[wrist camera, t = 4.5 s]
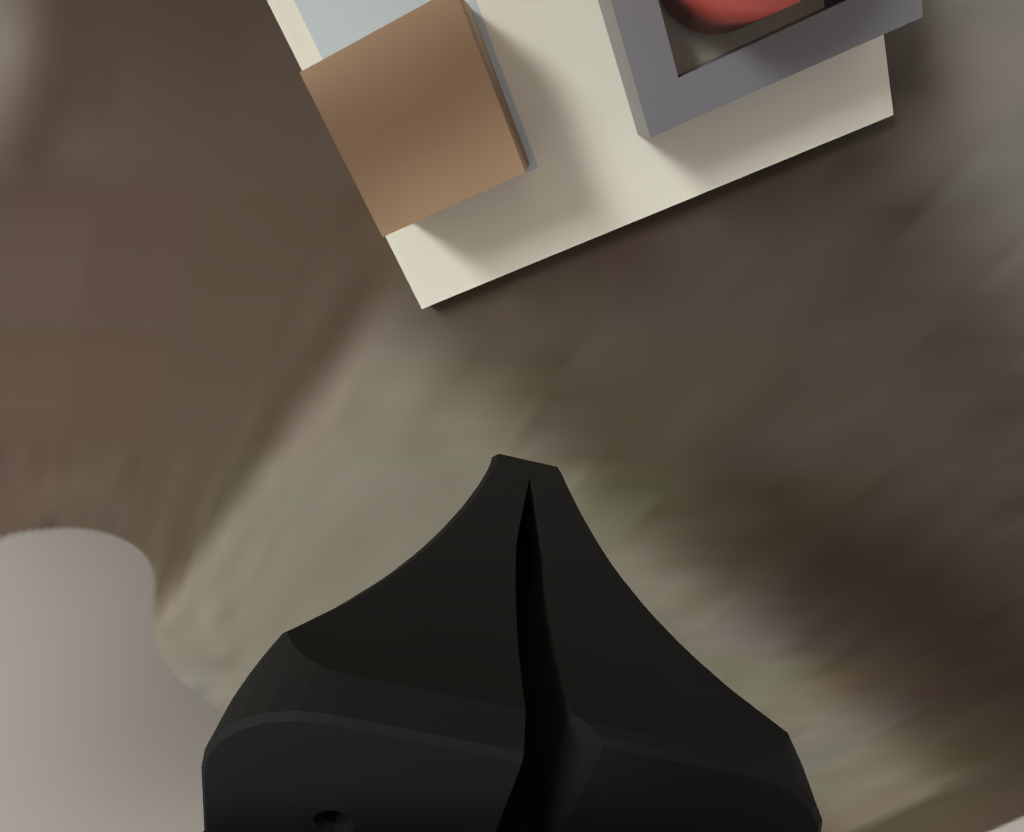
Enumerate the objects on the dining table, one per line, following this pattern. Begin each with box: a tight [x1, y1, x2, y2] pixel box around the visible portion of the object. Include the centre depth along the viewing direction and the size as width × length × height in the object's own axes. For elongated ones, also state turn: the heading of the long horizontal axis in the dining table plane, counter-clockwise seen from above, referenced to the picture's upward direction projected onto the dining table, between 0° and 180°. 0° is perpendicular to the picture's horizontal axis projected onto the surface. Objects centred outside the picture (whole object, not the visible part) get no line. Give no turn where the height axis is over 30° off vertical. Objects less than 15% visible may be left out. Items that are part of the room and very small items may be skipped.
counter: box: [300, 0, 530, 237], centre depth 16 cm, size 4×4×3 cm
